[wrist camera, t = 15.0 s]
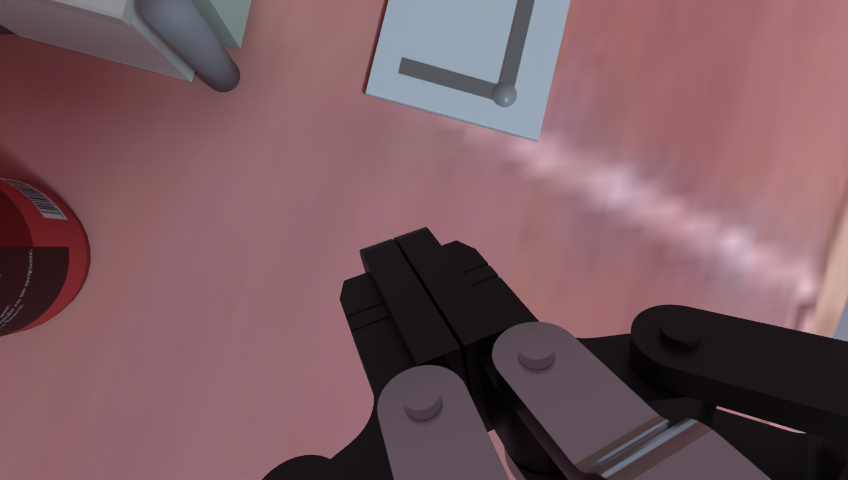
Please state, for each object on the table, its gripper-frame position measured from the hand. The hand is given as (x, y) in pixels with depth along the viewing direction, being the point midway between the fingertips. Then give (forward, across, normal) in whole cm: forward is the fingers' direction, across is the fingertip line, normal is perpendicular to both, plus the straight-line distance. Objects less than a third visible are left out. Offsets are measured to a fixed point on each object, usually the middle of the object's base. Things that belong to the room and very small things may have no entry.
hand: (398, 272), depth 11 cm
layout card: (+19, -11, 0) cm, 21 cm away
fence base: (+22, +8, -3) cm, 24 cm away
